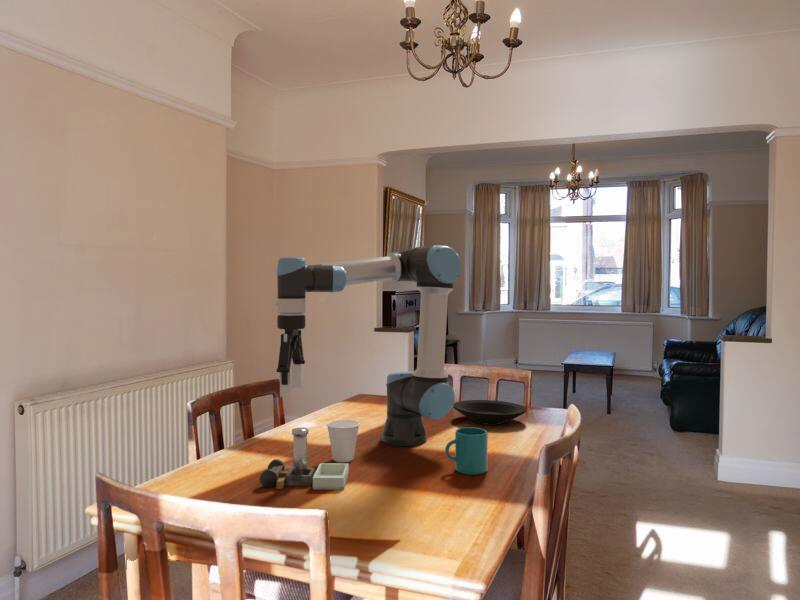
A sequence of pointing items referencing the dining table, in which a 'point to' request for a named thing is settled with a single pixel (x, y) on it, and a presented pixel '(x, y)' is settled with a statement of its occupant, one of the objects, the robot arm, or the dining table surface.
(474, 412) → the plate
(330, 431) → the cup
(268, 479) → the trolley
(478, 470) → the cup
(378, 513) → the dining table surface
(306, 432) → the pin
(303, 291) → the robot arm
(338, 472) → the tray
